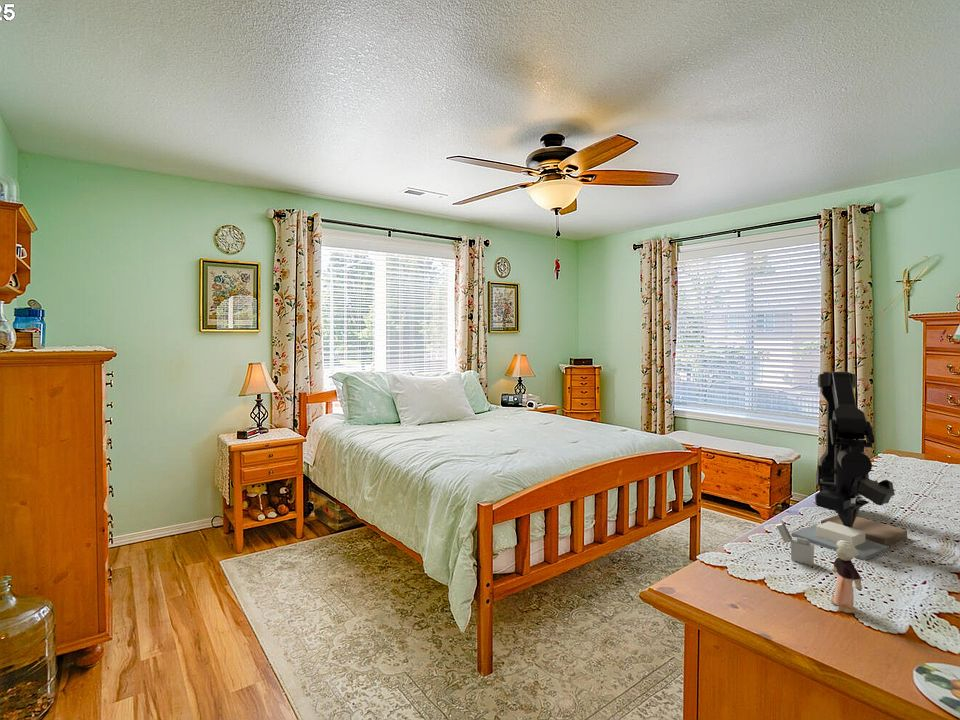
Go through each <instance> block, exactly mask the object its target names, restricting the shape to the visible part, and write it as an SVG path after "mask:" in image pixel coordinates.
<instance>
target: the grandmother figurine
mask: <svg viewBox="0 0 960 720" xmlns="http://www.w3.org/2000/svg"><path fill="white" fill-rule="evenodd" d="M836 545H837V547H838V549H837V551H835V552H836V556H837V557H836V558H835V560H834V562H833V568H832V572H834V573H835V574H837V577H836V585H835V590H834V596H833V597H831V598H830V602H831V604H833V605H836V606H838V609H839V611H841V612H842V613H846V614H852V613H857V612H858V611H857V609H856V607H854V601H855V600H854V599H855V598H854V587H855V589H857V590H858V591H861V590H863V586H862V581H861V580H862V577H861V575H860V574H859V572H858V570H857V568H856V567H855V565H854V563H853V561H852V560H853V559H854V558H856V557H855V556H858V555H859V553H858V551H857V549H856V548H855V547H854V546H853V544H851V543H849V542H847V541H844V540H840V541H838V542H837V544H836ZM853 582H854V584H855V585H854V587H853Z"/></svg>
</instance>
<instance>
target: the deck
mask: <svg viewBox="0 0 960 720" xmlns="http://www.w3.org/2000/svg"><path fill="white" fill-rule="evenodd" d="M828 521H830V522H833V523H837V524H840V525H843V523H842V521H841V519H840V517H839V515H838V514H836V515H833V516H831V517H828V518H825V519H822V520H820V524H822V523H825V522H828ZM852 528H854V529H857V530H861V531H864V532H865V539H867V540H870V541H873V542H876V543H880V544H883V545H886V546H889V547H890V546H892V545H894V544H897V543H900V542H901V541H904V540H907V539H908V530H907V529H905V528H901V527H897V526H894V525H890V524H886V523H882V522H879V521H875V520H871V519H869V518H863V517H862V516H861V517H860V516H858V515H857V516H856V519H855V521H854V524H853V526H852Z"/></svg>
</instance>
